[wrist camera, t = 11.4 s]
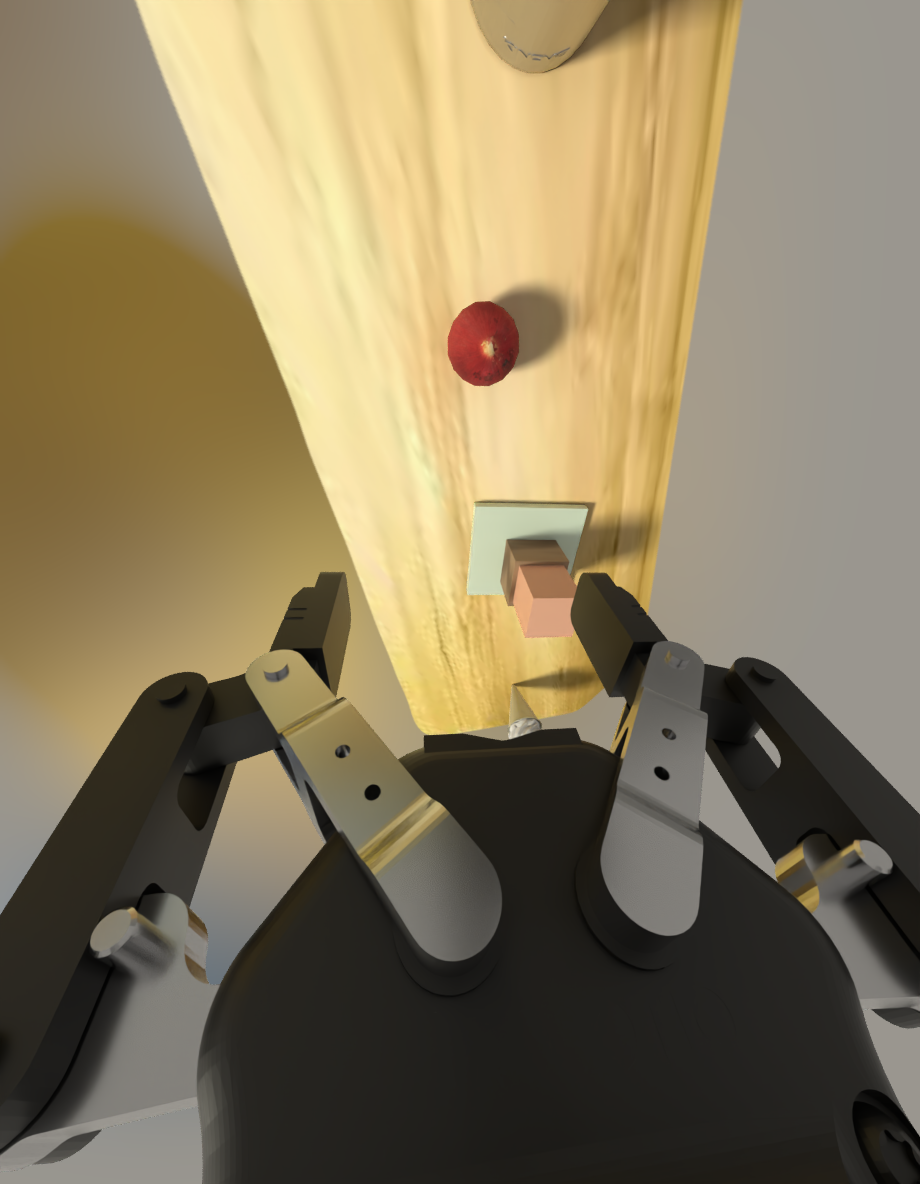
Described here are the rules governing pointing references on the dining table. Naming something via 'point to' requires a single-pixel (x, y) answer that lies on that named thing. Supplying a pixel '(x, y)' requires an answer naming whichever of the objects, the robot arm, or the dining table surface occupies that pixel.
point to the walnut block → (527, 560)
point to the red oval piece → (483, 343)
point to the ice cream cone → (521, 716)
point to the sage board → (517, 537)
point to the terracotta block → (544, 600)
